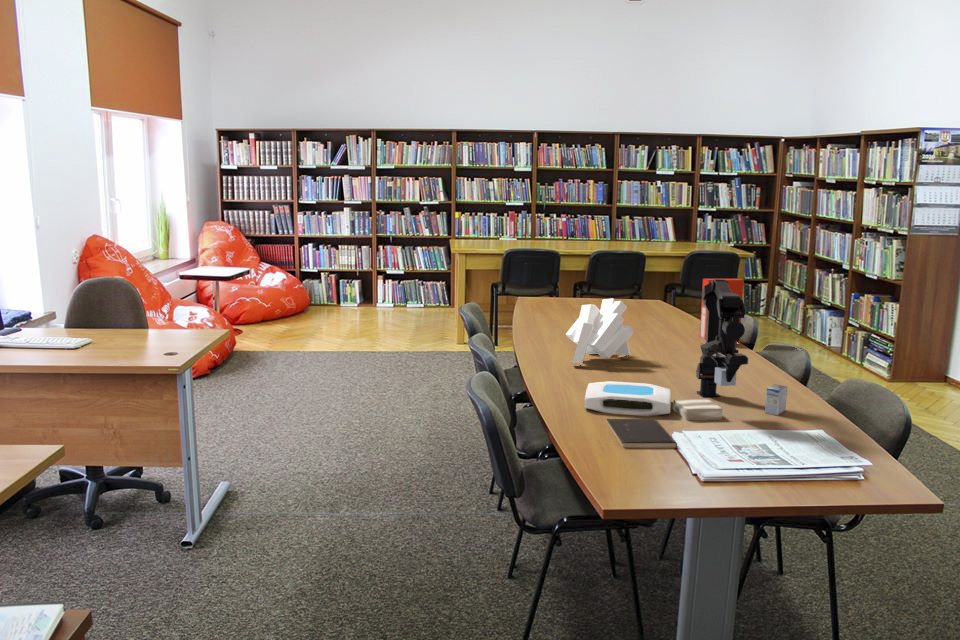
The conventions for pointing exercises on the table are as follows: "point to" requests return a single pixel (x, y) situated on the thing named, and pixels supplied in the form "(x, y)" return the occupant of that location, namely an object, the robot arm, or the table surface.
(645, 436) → the hardcover book
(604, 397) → the document scanner
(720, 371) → the grey cube
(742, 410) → the table surface
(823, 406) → the table surface
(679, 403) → the cream block
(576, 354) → the pile of blocks
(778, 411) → the medicine box
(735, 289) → the file binder
